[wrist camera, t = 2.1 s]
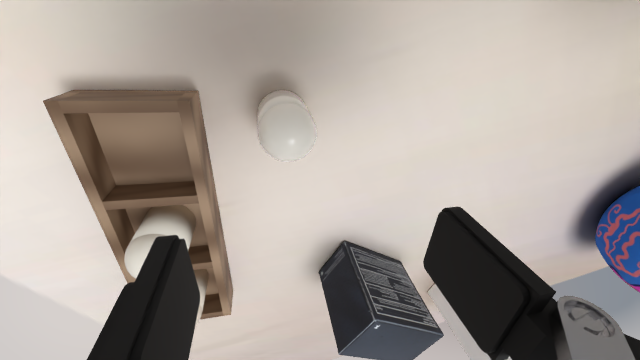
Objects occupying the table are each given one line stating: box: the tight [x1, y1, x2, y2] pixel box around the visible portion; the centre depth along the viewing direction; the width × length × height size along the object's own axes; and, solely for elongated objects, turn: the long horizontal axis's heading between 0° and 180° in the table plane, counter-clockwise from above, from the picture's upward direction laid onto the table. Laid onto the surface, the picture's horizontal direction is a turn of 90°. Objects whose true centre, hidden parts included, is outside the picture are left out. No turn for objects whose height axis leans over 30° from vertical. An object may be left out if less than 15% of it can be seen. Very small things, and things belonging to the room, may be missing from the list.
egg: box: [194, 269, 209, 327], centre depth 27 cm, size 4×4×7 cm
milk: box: [428, 284, 512, 360], centre depth 33 cm, size 6×6×22 cm
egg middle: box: [124, 205, 196, 279], centre depth 23 cm, size 4×4×7 cm
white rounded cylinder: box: [258, 90, 317, 162], centre depth 21 cm, size 4×4×7 cm
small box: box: [319, 241, 444, 360], centre depth 32 cm, size 11×6×10 cm, turn 57°
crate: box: [43, 90, 233, 319], centre depth 25 cm, size 24×9×3 cm, turn 177°
